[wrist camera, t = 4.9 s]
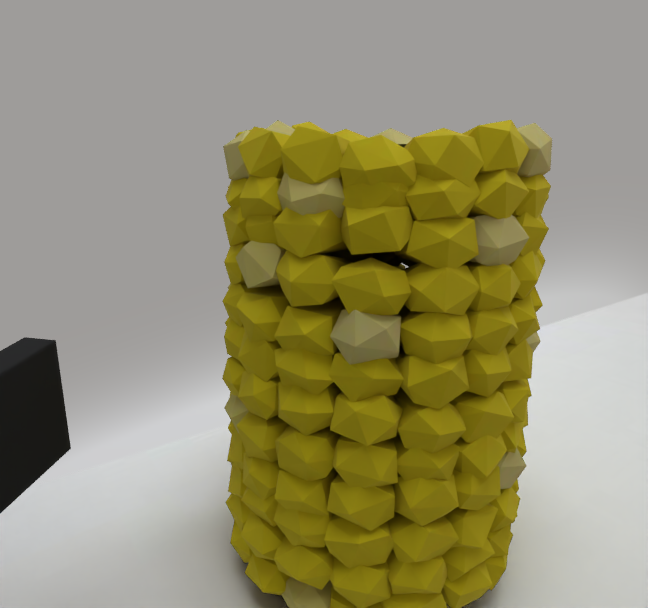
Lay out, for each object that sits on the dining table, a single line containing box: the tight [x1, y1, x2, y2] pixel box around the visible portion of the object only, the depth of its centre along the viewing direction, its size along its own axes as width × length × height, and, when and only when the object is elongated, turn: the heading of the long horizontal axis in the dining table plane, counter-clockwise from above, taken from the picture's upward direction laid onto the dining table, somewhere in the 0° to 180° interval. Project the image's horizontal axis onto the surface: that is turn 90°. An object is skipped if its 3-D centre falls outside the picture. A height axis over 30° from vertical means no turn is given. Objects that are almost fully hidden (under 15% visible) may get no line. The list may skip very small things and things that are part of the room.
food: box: [223, 120, 552, 608], centre depth 19 cm, size 15×12×10 cm
